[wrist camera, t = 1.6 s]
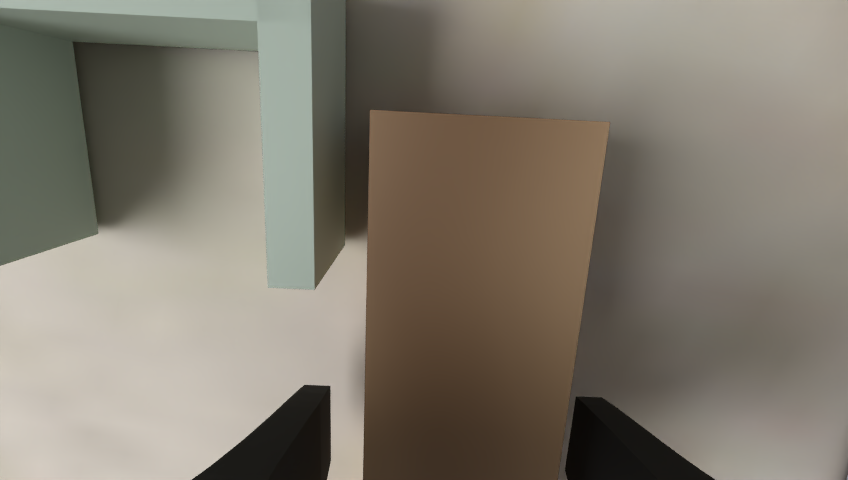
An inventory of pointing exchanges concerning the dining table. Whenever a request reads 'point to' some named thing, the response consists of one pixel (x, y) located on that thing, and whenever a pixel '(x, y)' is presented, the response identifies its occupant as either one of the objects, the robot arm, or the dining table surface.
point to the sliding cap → (193, 28)
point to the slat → (475, 291)
